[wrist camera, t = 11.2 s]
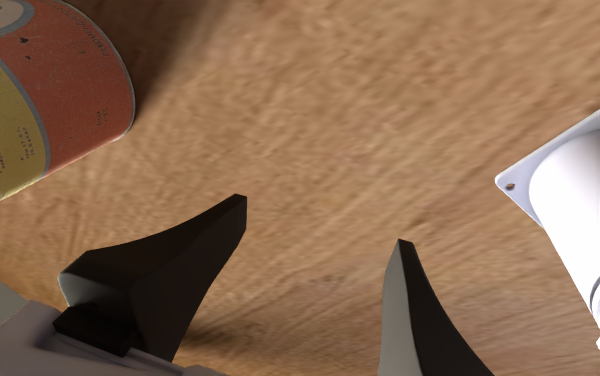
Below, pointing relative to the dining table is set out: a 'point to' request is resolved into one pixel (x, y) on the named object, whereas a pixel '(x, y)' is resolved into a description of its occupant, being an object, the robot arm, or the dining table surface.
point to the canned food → (56, 90)
